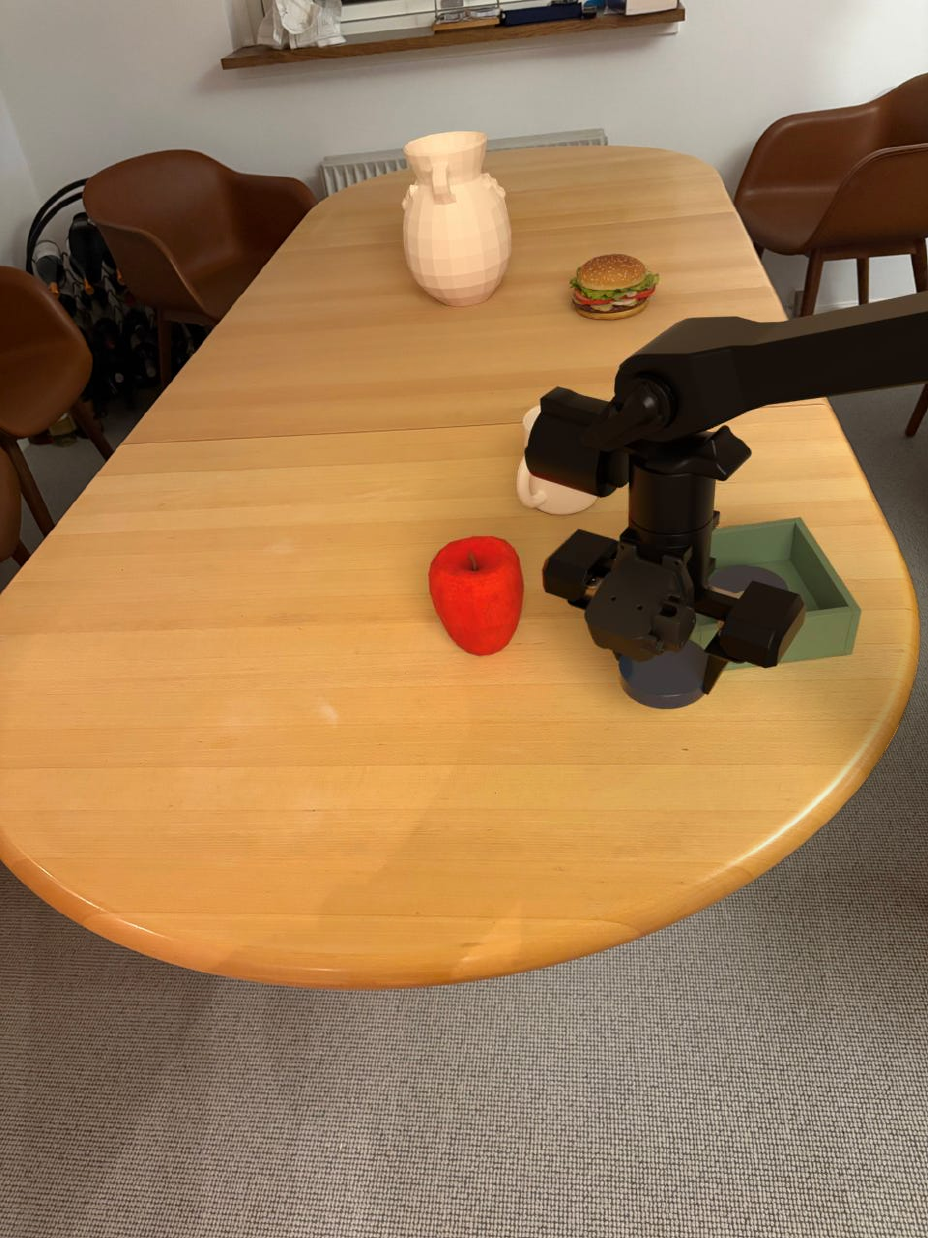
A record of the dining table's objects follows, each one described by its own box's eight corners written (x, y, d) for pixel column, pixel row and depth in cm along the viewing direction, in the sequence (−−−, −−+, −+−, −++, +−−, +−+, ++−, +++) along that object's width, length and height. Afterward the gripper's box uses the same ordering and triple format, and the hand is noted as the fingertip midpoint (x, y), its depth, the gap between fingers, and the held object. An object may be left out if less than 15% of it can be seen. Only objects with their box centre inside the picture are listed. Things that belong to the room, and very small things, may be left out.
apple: (478, 600, 90) (466, 512, 83) (547, 630, 86) (541, 539, 79) (421, 650, 85) (403, 561, 79) (492, 684, 81) (479, 592, 74)
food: (671, 312, 140) (673, 261, 135) (587, 330, 139) (586, 279, 134) (638, 285, 151) (639, 236, 146) (560, 301, 149) (558, 252, 144)
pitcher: (426, 279, 165) (404, 131, 149) (523, 274, 161) (512, 121, 145) (401, 319, 151) (374, 160, 135) (506, 315, 147) (492, 151, 131)
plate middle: (695, 650, 74) (697, 628, 72) (720, 712, 68) (723, 689, 67) (610, 661, 74) (610, 639, 73) (628, 724, 69) (628, 701, 67)
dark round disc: (770, 580, 86) (773, 560, 85) (796, 628, 81) (800, 607, 79) (697, 590, 87) (698, 570, 85) (718, 638, 81) (720, 617, 79)
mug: (550, 541, 97) (545, 459, 90) (494, 518, 101) (484, 439, 95) (614, 490, 103) (613, 410, 96) (557, 471, 108) (553, 393, 101)
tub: (794, 558, 90) (800, 516, 86) (852, 654, 78) (862, 610, 75) (651, 577, 90) (652, 536, 87) (688, 675, 79) (691, 633, 75)
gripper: (492, 536, 61) (511, 695, 71) (755, 620, 51) (734, 791, 61) (575, 460, 67) (582, 616, 77) (823, 523, 57) (793, 691, 67)
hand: (663, 674), depth 70 cm, fingers closed on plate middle, 7 cm apart
